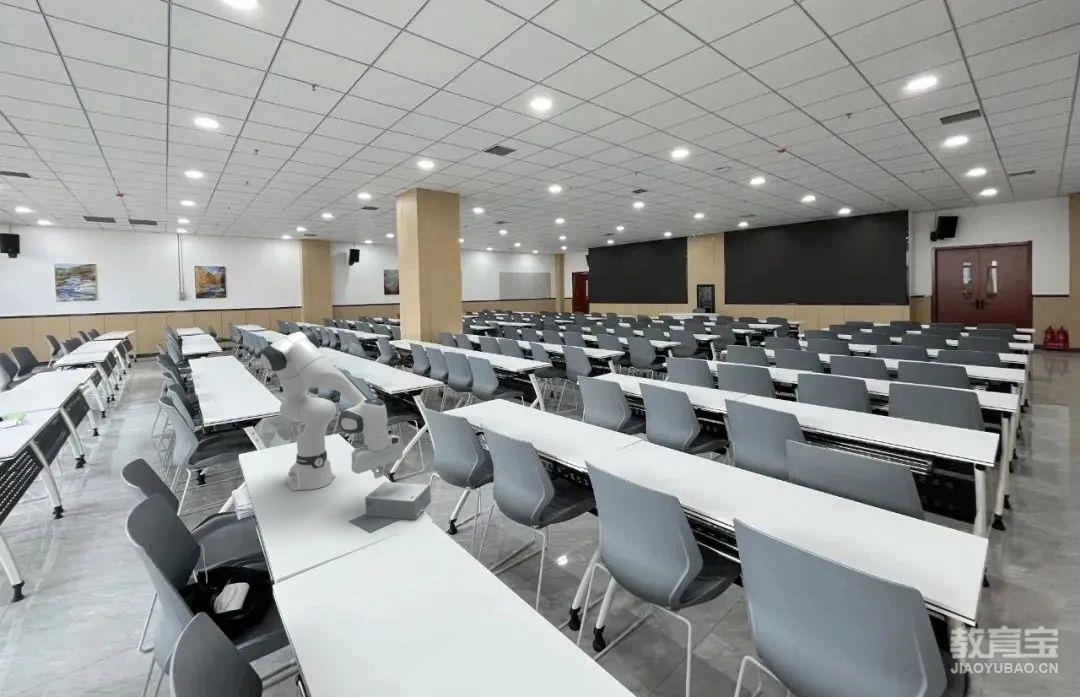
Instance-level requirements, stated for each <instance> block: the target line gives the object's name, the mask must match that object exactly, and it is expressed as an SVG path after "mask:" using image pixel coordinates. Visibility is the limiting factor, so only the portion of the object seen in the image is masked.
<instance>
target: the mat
mask: <svg viewBox="0 0 1080 697" xmlns="http://www.w3.org/2000/svg"><path fill="white" fill-rule="evenodd" d="M398 521H401V519H400V518H387V517H374V516H366V513H364V514H362V515H360V516H357V517H355V518H352V519H350V520H348V522H349V523H350V524H353V525H354V526H356V527H358V528H360V529H362V530H364V531H365V532H368V533H369V534H371V533H373V532H376V531H379V530H380V529H382V528H384V527H387V526H389V525H391V524H393V523H395V522H398Z"/></svg>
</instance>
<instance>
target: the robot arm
mask: <svg viewBox="0 0 1080 697" xmlns="http://www.w3.org/2000/svg"><path fill="white" fill-rule="evenodd" d="M320 345H321V344H320V340H319V338H318V336H317V334H316V333H315V332H314V331H313V330H311V329H309V328H304V329H300V330H297V331H296V332H293V333H290V334H288V335H285V336H283V337H282V338H280V339H278V340H276V341H275V342H273V343H271V344H268V345H266V346H265V347H264V348H262V349H261V350H260V359H261V362H262V364H263V366H264V367H265V368H266V369H267V370H268V371H271V372H275V373H276V375H277V376H276V377H278V380H279V384H280V385H281V387H282V390H283V393H284V394H283V395H284V399H283V400H282V401H281V404H280V406H279V413H280V416H282V418H284V419H286V420H289V421H291V422H299V423H304V428H303V431H301V432H299V434H297V437H296V450H297V453H296V459H295V460H296V461H295V463H294V464H293V465H291V467H290V469H289V471H288V472H287V474H288V476H287V477H285V479H284V482H285V483H286V484H287V486H288V487H289V488H290V489H291V490H292V491H293V492H294V491H301V490H305V491H307V490H316V489H320V488H322V487H323V488H324V487H325V486H327V485H329V484H331V483H332V481H333V479H334V478H335V477H336V474H333V472H332V465H331V461H330V460H329V459H328V454H327V453H328V452H327V449H326V442H325V441H326V440H325V439H326V438H325V436H326V435H325V434H326V431H327V430H326V429H327V427H328V425H329V423H330V422H332V421H333V420H334V418H335V416H336V413H337V406H336V404H335V402H333V401H332V400H330V399H327V398H324V397H314V396H313V397H311V396H310V395H309V394H308V390H309V389H310V388H316V389H325V390H332V391H335V392H338V393H340V394H341V395H343V397H344V398H345V399H346V400H347V401H348V402H349V403H350V404H351V405H352V406H351V407H349V408H347V409H345V410H343V411H342V412H340V414H339V416H338V424H339V428H340V429H341V431H342V432H343V433H345V434H348V435H354V434H359V433H361V434H363V445H362V446H360V447H355V448H354V450H352V452H351V471H352V472H353V473H355V474H358V475H359V474H362V473H365V472H367V471H372V473H373V475H374V476H373V477H374V479H379V478H382V477H384V472H385V469H386V467H387V466H386V465H387V464H390V463H393V462H396V461H399V460H402V458H403V446H402V444H401V436H398V435H394V434H391V433H389V431H388V427H387V426H388V423H389V422H388V413H387V407H386V404H385V402H384V401H383V400H381V399H379V398H370V397H369V396H367V395H366V394H365V393H364V392H363V391H362V390H361V389H360V387H359V386H357V385H356V384H355V382H354V381H353V380H351V378H349V376H347V375H346V374H345V373H344V372H342V371H341V370H339V369H338V368H336V367H335V365H334V364H332V362H330V360H328V358H327V357H326V355H324V353H323V352H322V351H321V350H320V349H319V348H320ZM379 467H380V468H379ZM378 468H379V470H378Z"/></svg>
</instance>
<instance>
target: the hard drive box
mask: <svg viewBox="0 0 1080 697" xmlns="http://www.w3.org/2000/svg"><path fill="white" fill-rule="evenodd" d="M431 498H432V495H431V485H430V484H427V483H426V484H425V483H424V484H423V483H407V482H394V481H393V482H392V481H384V482H382V483H381V484H380V485H379V486H377V487H376V488H375V489H374V490H372V491H371V492H370V493H368V495H367V496H365V498H364V502H365V514H366V516H374V517H387V518H400V520H403V519H404V520H417V518H418V517H419V516H420V515H421V514H422V512H424V510H426V508H427V507H428V506H429V505H430V503H431V502H432V500H431ZM421 510H422V511H421Z"/></svg>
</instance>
